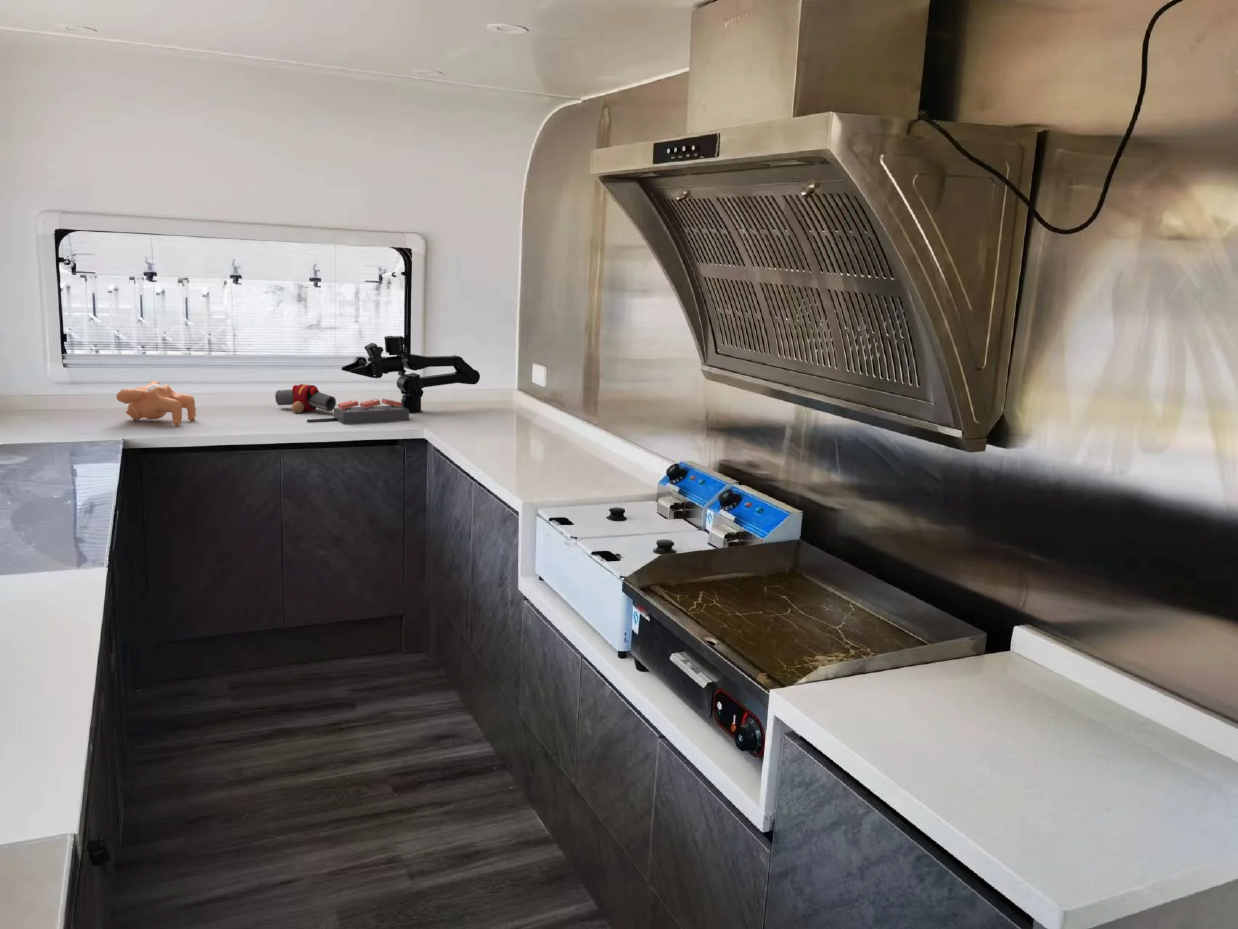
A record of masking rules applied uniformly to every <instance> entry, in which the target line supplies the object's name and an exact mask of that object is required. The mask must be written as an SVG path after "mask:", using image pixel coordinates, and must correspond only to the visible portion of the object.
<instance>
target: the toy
mask: <svg viewBox="0 0 1238 929" xmlns="http://www.w3.org/2000/svg"><path fill="white" fill-rule="evenodd" d="M274 397H275V402H276V404H277V405H278V406H291V411H292V413H294V414H300V413H302V412H309V413H310V412H311V413H312V412H315V411H316V410H317V409H319V410H323V411H326V412H332V411H334V408H336V405H337V401H336V397H334V396H332V395H329V394H326V393H323V392H320V391H319V389H318V387H317V385H314V384H313V385H312V384H304V383H303V384H302V383H301V384H298V385H297V384H295V385H293V386H292V389H278V390H276V392H275V394H274Z"/></svg>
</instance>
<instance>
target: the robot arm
mask: <svg viewBox="0 0 1238 929" xmlns="http://www.w3.org/2000/svg"><path fill="white" fill-rule="evenodd" d="M383 340H384V345H385V346H384V348H383V347H382V346H378V344H377V343H373V342H370V343H369V344H367V345H365V346H364V350H365V352H366V353H367V355H368V357H367V358H366V357H364V356H355V358H354V360H353V362H351V363H349V364H346V365H344V366H342V367H341V371H344V372H348V373H351V374H355V375H358V376H362V377H363V376H364V377H367V378H370V379H381V378H382V377H383V375H384V374H385V375H387V374H389V373H395V372H397V375H398V378H397V380H396V387H397V388H398V389H399V391H400V394H401V395H402V396H401V400H400V403H402V405H401V406H402V407H404V408H407V409H409V414H413V413H423V410H422V397H423V396H424V395H423V394H424V390H423V389H424V388H429V387H430V388H431V387H436V386H437V387H439V386H445V385H446V386H447V385H454V384H464V385H476V384H478V383H479V381H480V379H481V375H480V372H479V370H476V369H474V368H473V367H472V366H471V365H470V364H468V363H467V362H466V361H465V360H464V358H462V357H461V356H459V355H455V354H454V355H434V356H433V355H431V356H425V355H419V354H414V353H409V352H408V351H407V350H406V351H405V348H404V347H405V346H404V336H402V335H394V336H393V335H386V336H384V339H383ZM384 350H385V353H388V356H386V357H385V356H382V354H383V352H384ZM434 367H436V368H437V367H440V368H441V367H453V368H454V370H455V371H454V372H449V373H442V374H441V373H440V374H434V375H426V376H425V375H424V376H421V374H419V373H415V372H416V371H420V370H424V369H426V368H434ZM405 369H406V370H405ZM407 369H408V370H410V371H415V372H411V373H407Z"/></svg>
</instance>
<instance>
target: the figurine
mask: <svg viewBox="0 0 1238 929" xmlns="http://www.w3.org/2000/svg"><path fill="white" fill-rule="evenodd" d="M115 396H116V398H115V399H116V400H117V401H118V402H120V403H122V404H128V406H127V410H126V411H125V414H127V415H128V416H130V418H131V419H132V420H133V421H136V420H141V419H144V418H146V419H147V420H157V419H161V418H163V417H165V415H166V414H167V413H171V415H172V416H171V417H172V421H171V423H172V424H174V426H176V427H179V426H180V424H182V419H183V409H186V412H187V420H189V421H194V420H196V416H197V413H196V412H197V408H196V401H195V397H194V396H193V395H191V394H186V393H180V392H176V391H175V390H173V389H172V388H171V386H170V385H169V384H163V385H161V384H160V382H159V381H156V380H154V381H151V382H150V383H148V384H146V385H145V386H143V385H142V386H138V387H136V388H123V389H121V390H120V391H118V393H117V394H116V395H115Z"/></svg>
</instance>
